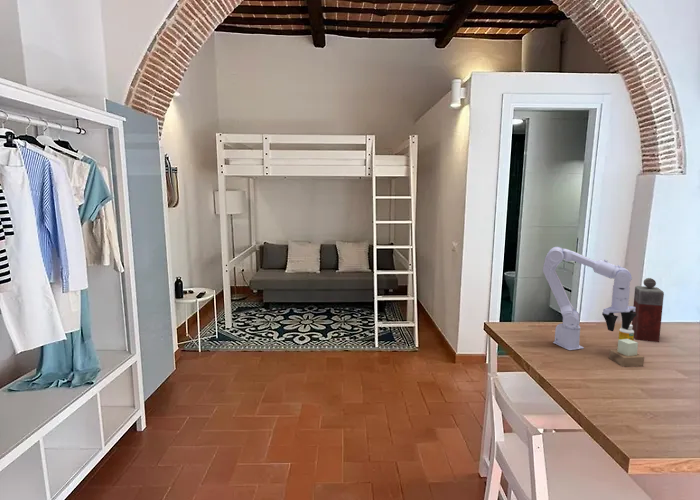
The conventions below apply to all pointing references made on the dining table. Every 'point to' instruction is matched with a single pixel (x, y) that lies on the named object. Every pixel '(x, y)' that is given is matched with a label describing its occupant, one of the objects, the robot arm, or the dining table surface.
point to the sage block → (627, 347)
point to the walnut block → (626, 359)
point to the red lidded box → (647, 311)
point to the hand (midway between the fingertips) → (617, 329)
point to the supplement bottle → (626, 333)
